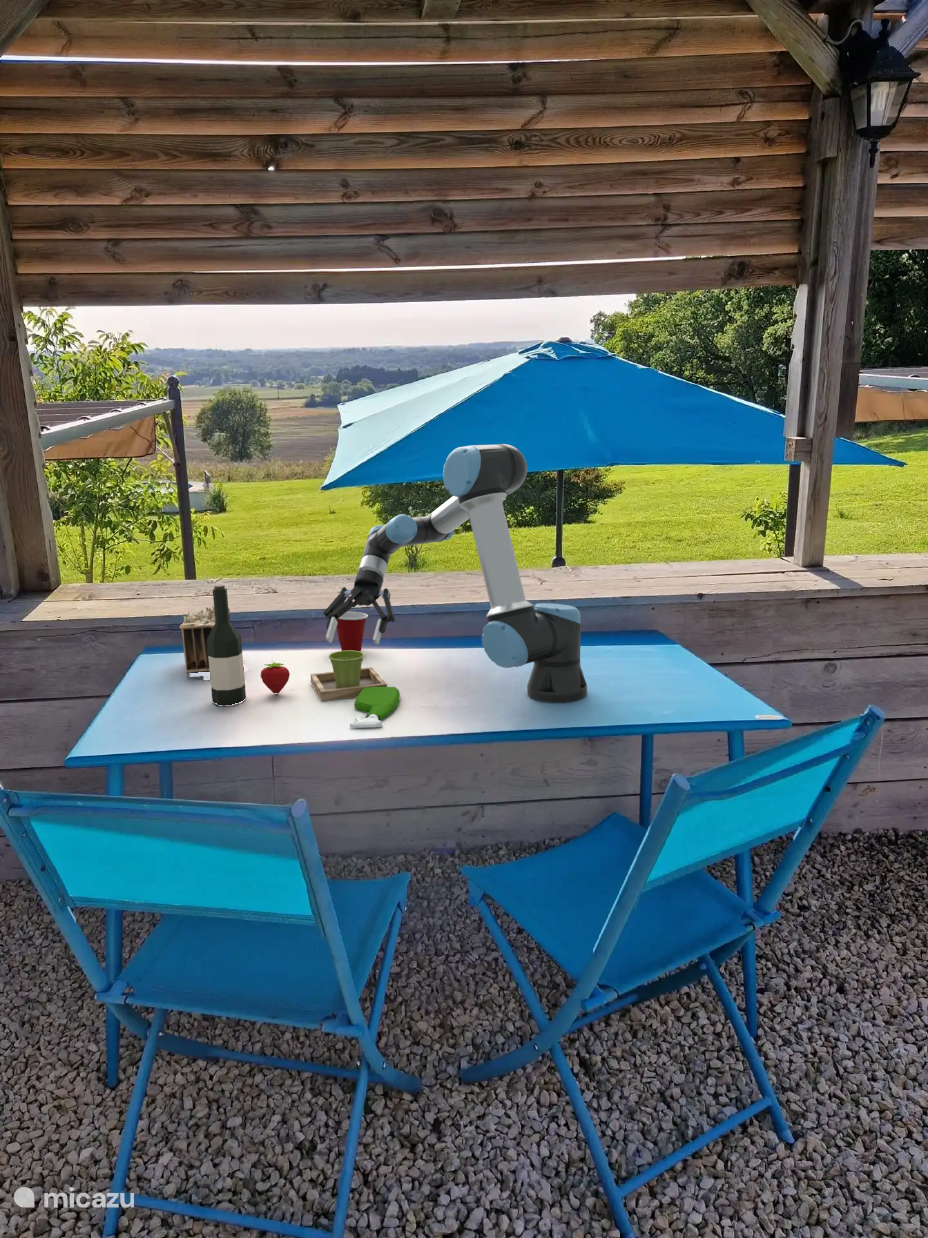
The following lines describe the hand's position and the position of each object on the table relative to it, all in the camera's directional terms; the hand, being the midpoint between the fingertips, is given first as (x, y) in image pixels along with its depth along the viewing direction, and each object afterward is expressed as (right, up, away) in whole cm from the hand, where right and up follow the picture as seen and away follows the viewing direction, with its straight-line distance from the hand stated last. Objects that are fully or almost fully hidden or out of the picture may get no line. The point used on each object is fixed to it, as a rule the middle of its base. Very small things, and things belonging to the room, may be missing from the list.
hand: (351, 641), depth 237 cm
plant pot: (-1, -12, -2) cm, 12 cm away
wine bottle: (-30, -15, -11) cm, 35 cm away
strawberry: (-19, -14, -6) cm, 24 cm away
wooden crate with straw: (-43, -9, +20) cm, 49 cm away
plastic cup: (-4, -4, +34) cm, 34 cm away
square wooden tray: (-1, -12, -2) cm, 13 cm away
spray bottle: (+8, -17, -21) cm, 28 cm away
